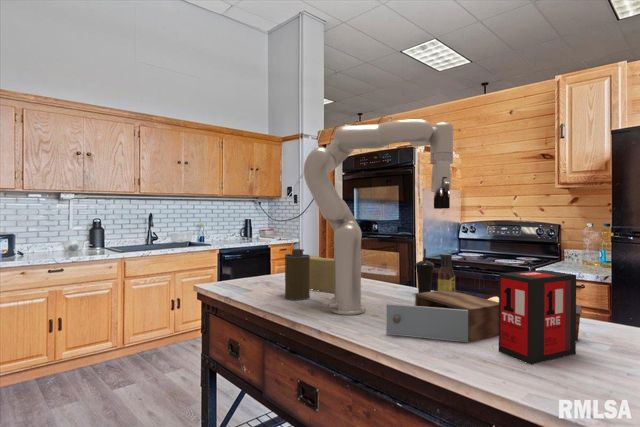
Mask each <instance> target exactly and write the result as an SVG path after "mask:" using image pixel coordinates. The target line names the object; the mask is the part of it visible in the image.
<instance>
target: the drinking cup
mask: <svg viewBox="0 0 640 427" xmlns="http://www.w3.org/2000/svg"><path fill="white" fill-rule="evenodd" d="M426 250H427V249H426V248H424V249H423V260H420V261H418V262H417V261H416V263H415V267H416V269H415V270H416V278H417V279H416V280H417V290H418V292H417V293H424V292H432V283H433V274H434V272H433V271H434V266H435V263H433V262H431V261H429V260H426V259H427V258H426V257H427V256H426V254H427V253H426V252H427V251H426Z"/></svg>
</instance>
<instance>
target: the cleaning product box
mask: <svg viewBox="0 0 640 427" xmlns="http://www.w3.org/2000/svg"><path fill="white" fill-rule="evenodd" d="M498 302H499V336H498V353H501V354H503V355H505V356H508V357H511V358H513V359H515V358H516V360H518V361H520V360H521V361H520V362H523V363H525V362H526V364H527V365H530V364H531V365H535V364H540V363H543V362H548V361H552V360H556V359H561V358H565V357H569V356H574V355H577V341H576V306H577V274H573V273H566V272H559V271H553V270H547V269H535V270H525V271H513V272H502V273H501V272H499V274H498Z"/></svg>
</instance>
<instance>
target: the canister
mask: <svg viewBox="0 0 640 427" xmlns="http://www.w3.org/2000/svg"><path fill="white" fill-rule="evenodd" d="M304 251H305V250H304V249H303V248H293V249H292V253H285V254H284V281H285V283H284V288H285V290H284V292H285V293H284V295H285V296H284V299H286V300H290V301H304V299H305V300H309V299H310V297H311V296H310V290H309V282H310V256H311V255H310V254H304ZM308 298H309V299H308Z"/></svg>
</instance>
